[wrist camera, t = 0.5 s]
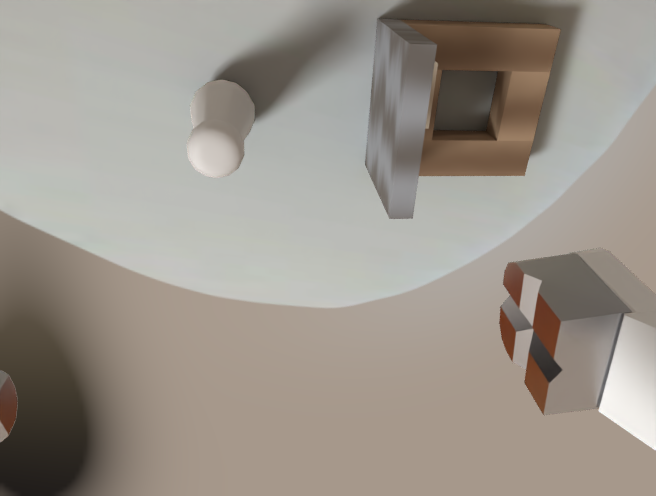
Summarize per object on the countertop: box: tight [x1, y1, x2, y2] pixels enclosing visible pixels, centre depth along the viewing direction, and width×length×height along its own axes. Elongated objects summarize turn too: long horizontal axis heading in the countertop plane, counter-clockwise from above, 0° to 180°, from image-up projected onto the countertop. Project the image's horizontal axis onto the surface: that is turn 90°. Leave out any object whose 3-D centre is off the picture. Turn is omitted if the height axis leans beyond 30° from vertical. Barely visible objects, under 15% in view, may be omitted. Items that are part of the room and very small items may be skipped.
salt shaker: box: [187, 80, 255, 178], centre depth 45 cm, size 6×6×13 cm
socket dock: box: [365, 19, 561, 219], centre depth 48 cm, size 14×16×12 cm
